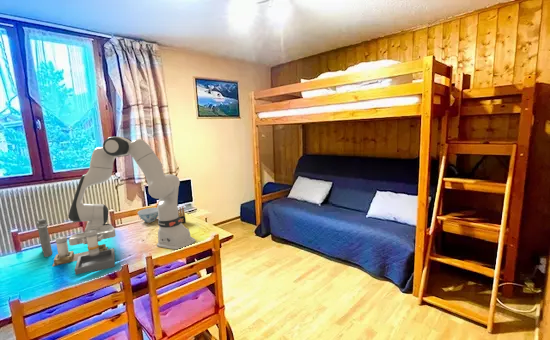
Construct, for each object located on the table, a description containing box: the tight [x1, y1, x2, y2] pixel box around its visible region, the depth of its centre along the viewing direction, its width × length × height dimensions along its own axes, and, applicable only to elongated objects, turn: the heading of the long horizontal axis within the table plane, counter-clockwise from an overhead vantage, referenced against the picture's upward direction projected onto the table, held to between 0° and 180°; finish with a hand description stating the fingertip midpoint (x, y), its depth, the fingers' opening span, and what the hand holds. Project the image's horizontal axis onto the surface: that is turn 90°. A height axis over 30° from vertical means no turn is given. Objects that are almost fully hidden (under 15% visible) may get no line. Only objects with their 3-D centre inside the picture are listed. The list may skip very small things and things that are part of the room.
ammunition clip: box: [178, 206, 187, 224], centre depth 194 cm, size 11×2×12 cm, turn 122°
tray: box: [74, 248, 116, 275], centre depth 142 cm, size 16×16×4 cm
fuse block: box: [51, 243, 109, 267], centre depth 151 cm, size 24×10×4 cm, turn 119°
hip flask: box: [36, 218, 53, 258], centre depth 157 cm, size 16×4×20 cm, turn 44°
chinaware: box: [137, 207, 159, 223], centre depth 204 cm, size 15×15×8 cm
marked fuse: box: [84, 230, 100, 256], centre depth 140 cm, size 5×5×12 cm
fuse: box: [55, 236, 70, 258], centre depth 146 cm, size 5×5×12 cm
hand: (92, 241), depth 139 cm, fingers closed on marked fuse, 4 cm apart
